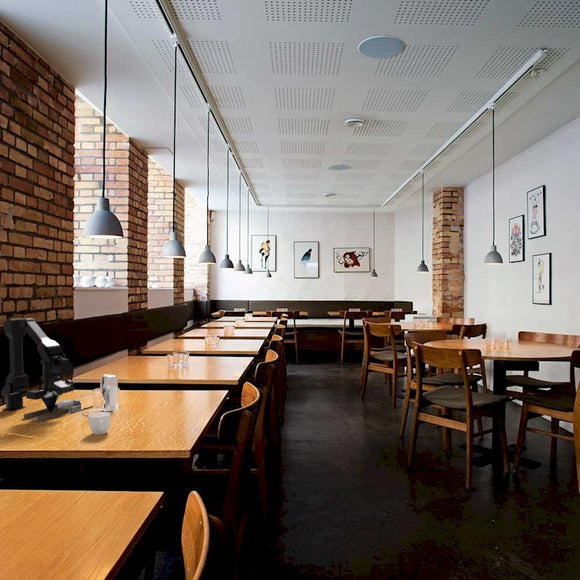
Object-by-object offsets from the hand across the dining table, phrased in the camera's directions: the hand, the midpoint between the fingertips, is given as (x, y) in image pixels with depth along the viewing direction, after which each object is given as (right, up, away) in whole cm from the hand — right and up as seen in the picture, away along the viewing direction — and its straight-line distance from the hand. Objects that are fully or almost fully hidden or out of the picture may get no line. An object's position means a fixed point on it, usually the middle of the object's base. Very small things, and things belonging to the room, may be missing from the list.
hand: (50, 412), depth 196 cm
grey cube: (+1, -1, +3) cm, 4 cm away
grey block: (+3, -1, +7) cm, 8 cm away
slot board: (+1, -2, +4) cm, 4 cm away
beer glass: (+21, -2, +9) cm, 23 cm away
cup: (+30, -2, -24) cm, 39 cm away
